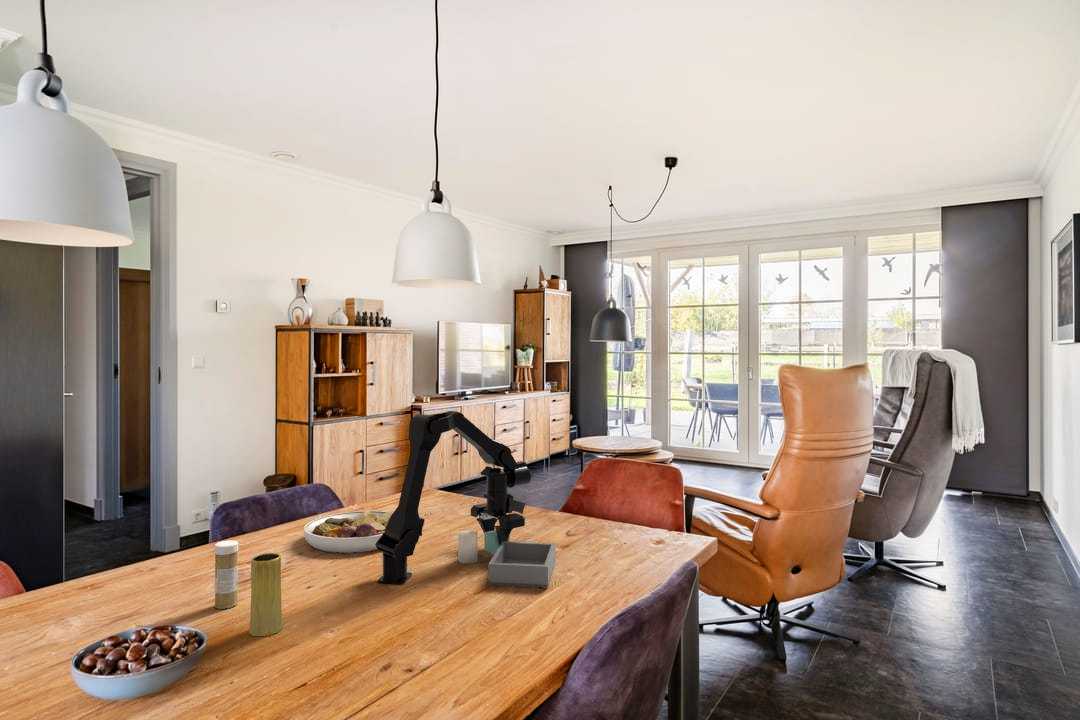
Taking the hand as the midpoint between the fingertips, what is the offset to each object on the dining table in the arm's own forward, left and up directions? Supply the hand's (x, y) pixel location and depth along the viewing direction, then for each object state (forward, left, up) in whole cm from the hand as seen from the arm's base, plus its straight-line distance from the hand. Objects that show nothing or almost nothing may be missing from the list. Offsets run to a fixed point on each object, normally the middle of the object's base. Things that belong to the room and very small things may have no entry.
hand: (496, 546), depth 171 cm
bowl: (+5, +42, -2) cm, 42 cm away
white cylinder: (-9, +6, -1) cm, 11 cm away
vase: (-55, +35, -1) cm, 65 cm away
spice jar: (-45, +50, -1) cm, 67 cm away
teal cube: (0, 0, -1) cm, 1 cm away
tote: (-17, -10, -1) cm, 20 cm away
